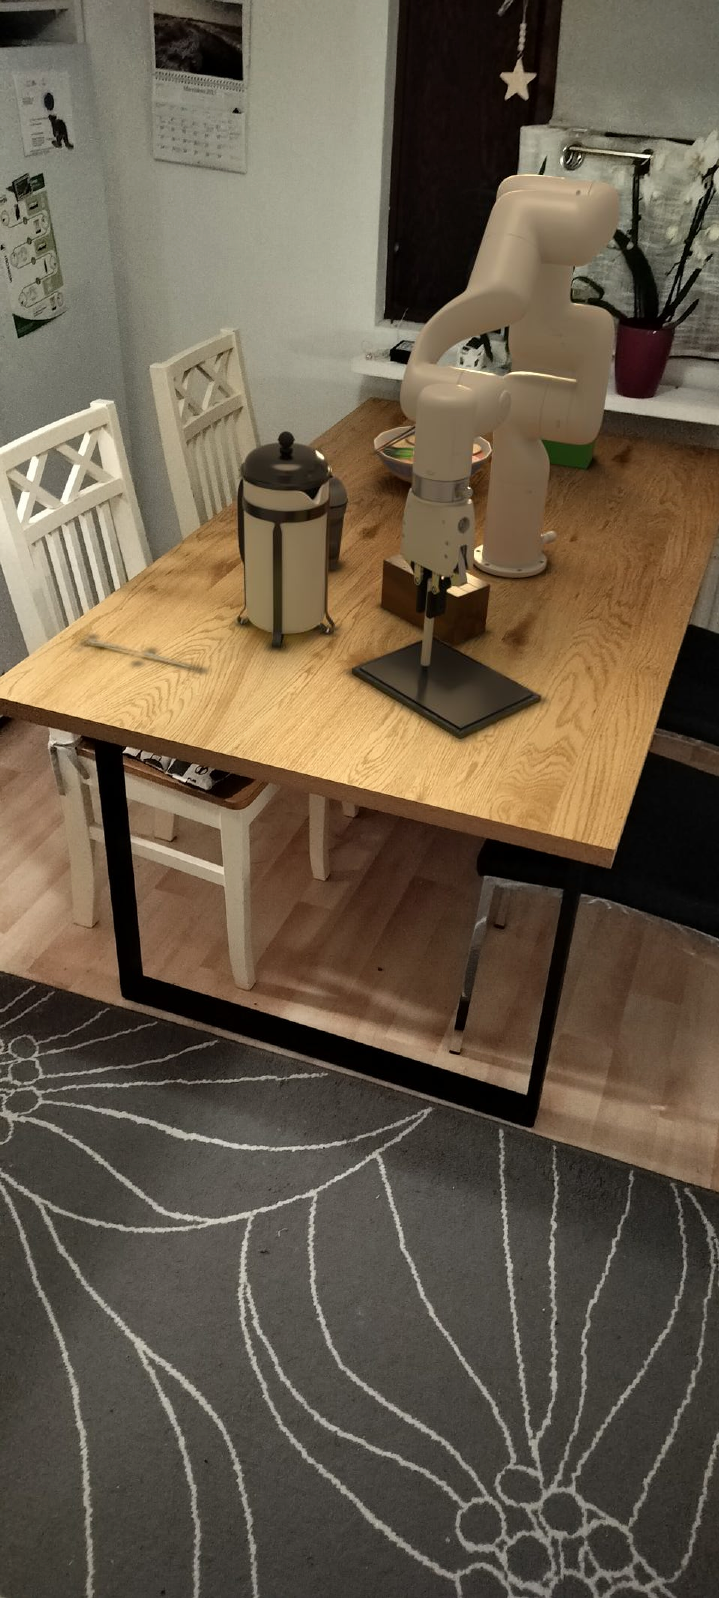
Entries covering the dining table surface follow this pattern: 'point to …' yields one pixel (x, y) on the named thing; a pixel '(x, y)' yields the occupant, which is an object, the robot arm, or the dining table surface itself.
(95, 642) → the stylus
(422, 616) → the pen block
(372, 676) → the tablet
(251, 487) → the coffee press
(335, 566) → the beverage cup
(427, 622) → the rod
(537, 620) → the dining table surface
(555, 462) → the hardback book
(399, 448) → the ramen bowl
